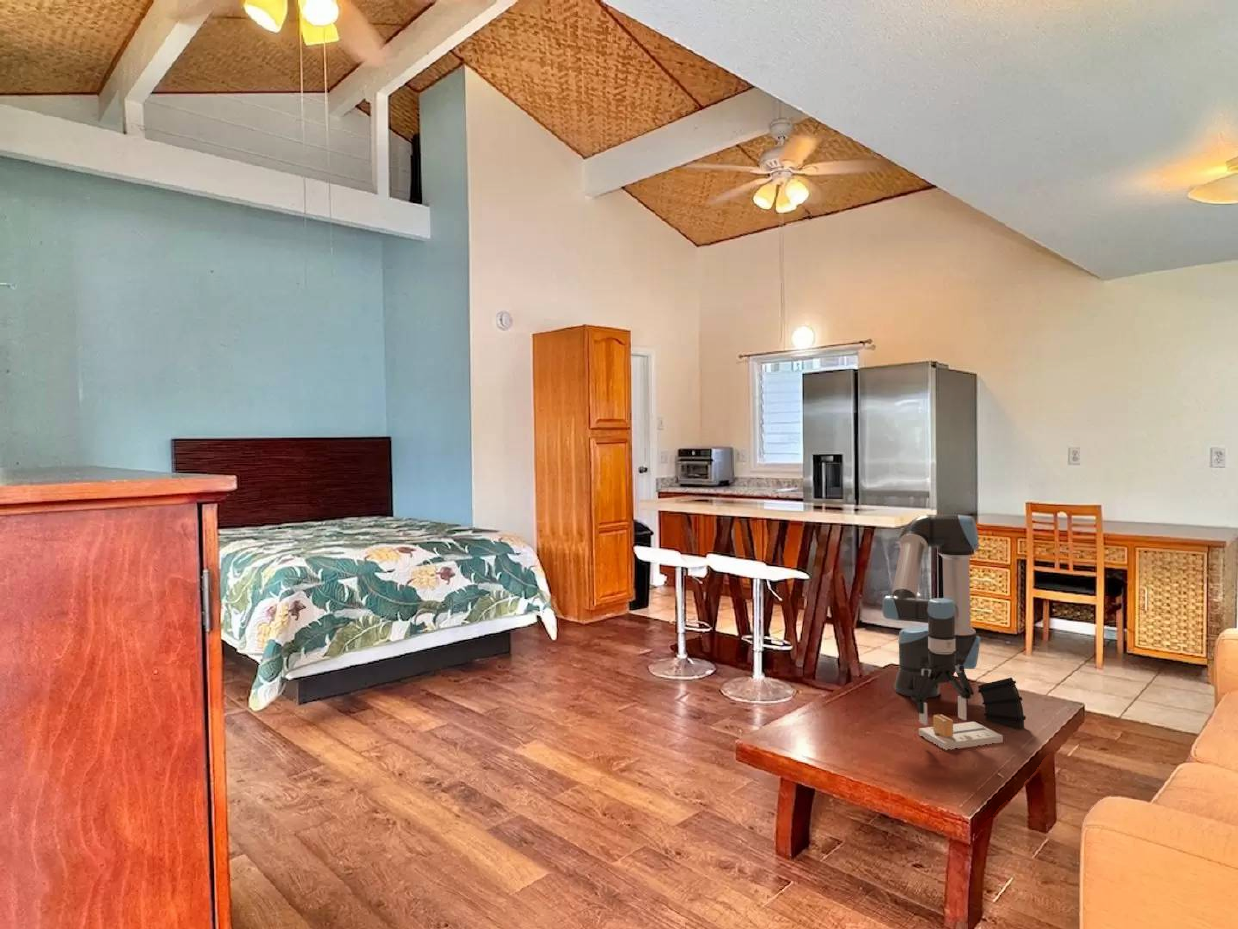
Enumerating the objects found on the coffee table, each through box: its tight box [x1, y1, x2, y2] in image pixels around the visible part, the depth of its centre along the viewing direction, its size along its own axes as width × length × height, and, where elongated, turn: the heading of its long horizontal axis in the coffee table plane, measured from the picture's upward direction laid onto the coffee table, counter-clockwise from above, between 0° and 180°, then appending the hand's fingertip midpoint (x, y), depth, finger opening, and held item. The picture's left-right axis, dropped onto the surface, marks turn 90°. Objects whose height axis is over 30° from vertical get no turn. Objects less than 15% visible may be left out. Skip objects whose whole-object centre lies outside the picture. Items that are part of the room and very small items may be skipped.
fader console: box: [918, 721, 1004, 751], centre depth 220 cm, size 12×20×2 cm, turn 104°
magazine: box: [977, 677, 1027, 730], centre depth 231 cm, size 4×13×15 cm, turn 38°
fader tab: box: [932, 713, 954, 737], centre depth 218 cm, size 5×3×5 cm, turn 14°
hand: (942, 721), depth 218 cm, fingers open, 13 cm apart
